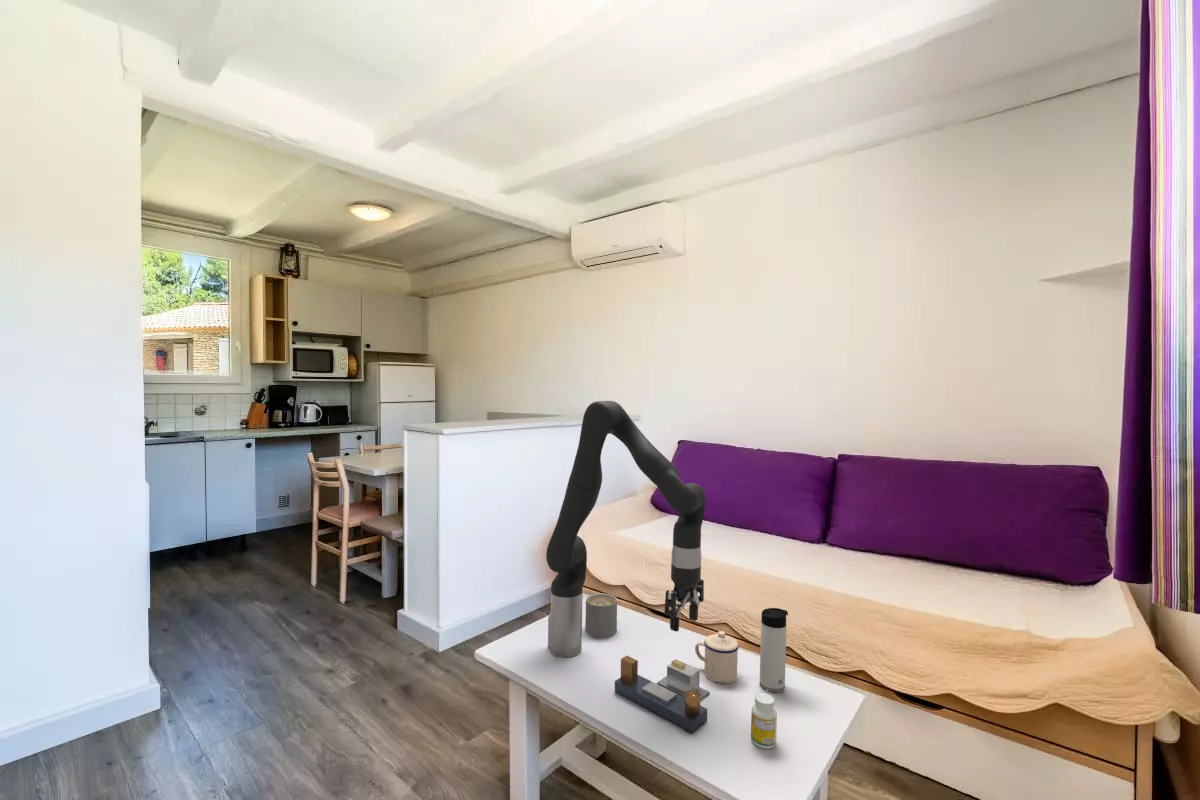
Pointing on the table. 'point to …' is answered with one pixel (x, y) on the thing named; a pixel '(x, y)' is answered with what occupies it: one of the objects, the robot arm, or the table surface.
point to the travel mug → (773, 649)
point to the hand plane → (660, 698)
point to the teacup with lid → (719, 657)
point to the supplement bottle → (763, 721)
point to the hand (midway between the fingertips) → (684, 624)
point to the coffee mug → (601, 615)
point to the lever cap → (682, 676)
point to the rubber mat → (664, 684)
